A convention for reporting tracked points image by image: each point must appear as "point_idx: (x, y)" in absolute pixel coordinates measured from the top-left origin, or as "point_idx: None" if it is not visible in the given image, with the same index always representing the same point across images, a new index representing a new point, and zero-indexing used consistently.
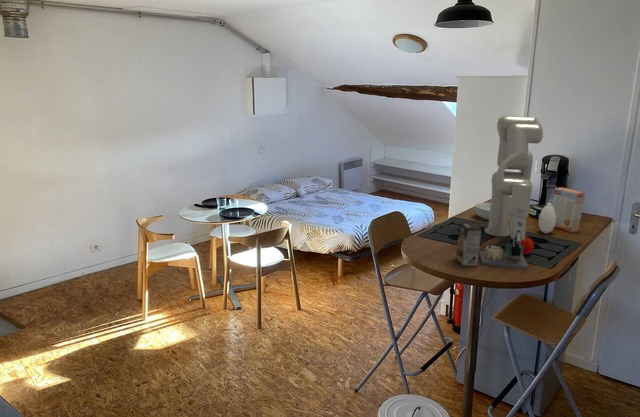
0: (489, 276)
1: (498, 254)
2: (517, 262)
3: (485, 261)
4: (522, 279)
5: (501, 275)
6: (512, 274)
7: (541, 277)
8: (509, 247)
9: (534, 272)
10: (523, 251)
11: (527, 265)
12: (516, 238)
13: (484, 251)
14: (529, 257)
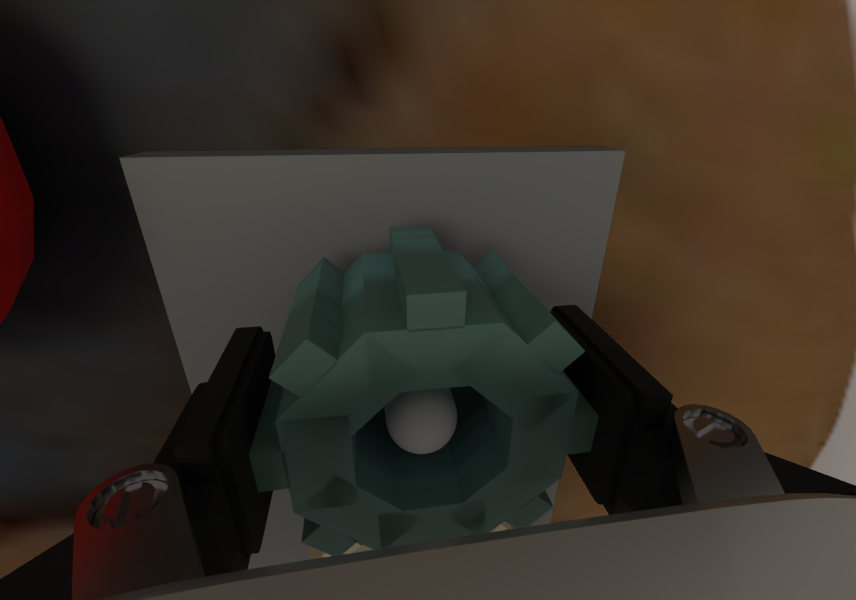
0: None
1: None
2: (515, 270)
3: (541, 519)
4: (843, 235)
5: (741, 386)
6: (727, 310)
7: (835, 10)
8: (543, 505)
9: (684, 72)
10: (5, 148)
11: (604, 156)
12: (198, 550)
13: (255, 554)
14: (35, 20)
